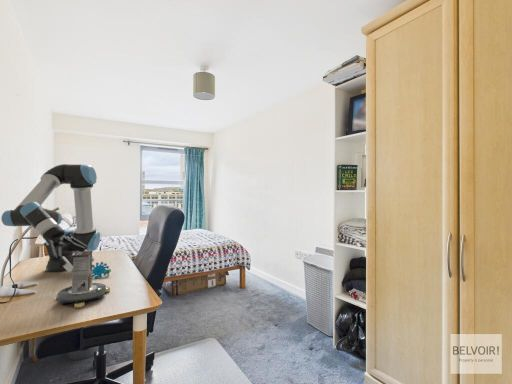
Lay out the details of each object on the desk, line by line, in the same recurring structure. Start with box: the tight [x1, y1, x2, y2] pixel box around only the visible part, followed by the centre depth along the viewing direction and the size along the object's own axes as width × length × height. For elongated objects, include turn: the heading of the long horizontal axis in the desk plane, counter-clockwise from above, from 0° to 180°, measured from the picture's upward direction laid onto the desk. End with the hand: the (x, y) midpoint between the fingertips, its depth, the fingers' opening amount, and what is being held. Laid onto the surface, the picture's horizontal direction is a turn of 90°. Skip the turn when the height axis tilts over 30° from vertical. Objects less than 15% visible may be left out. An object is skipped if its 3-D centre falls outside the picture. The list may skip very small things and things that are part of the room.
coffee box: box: [71, 251, 93, 293], centre depth 119 cm, size 9×6×16 cm
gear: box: [92, 261, 112, 279], centre depth 152 cm, size 11×6×10 cm
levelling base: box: [55, 282, 111, 310], centre depth 119 cm, size 21×21×5 cm
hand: (82, 265), depth 119 cm, fingers open, 13 cm apart
